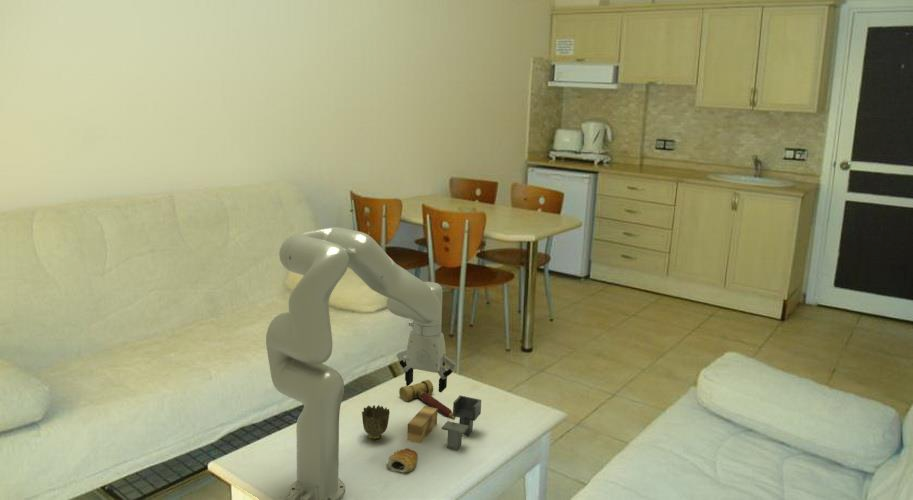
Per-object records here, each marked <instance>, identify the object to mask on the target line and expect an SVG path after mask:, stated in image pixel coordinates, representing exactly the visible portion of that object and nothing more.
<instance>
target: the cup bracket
mask: <svg viewBox="0 0 913 500" xmlns="http://www.w3.org/2000/svg"><path fill="white" fill-rule="evenodd" d="M452 405H453V406H452V407H453V408H452V413H453V416H454V417H455V418H459V421H458V423H459V424H463V425H468V429H467V430H466V431H465V432H464V434H462V436H467V437H470V435H472V433H473V431H474V422H475V421H476V420H477V418H478V417H479V416H480V415H481V413H482V399H478V398H476V397H475V398H473V397H470V396H466V395H458V397H457V398H456V399H455V400H454V401H453V404H452Z"/></svg>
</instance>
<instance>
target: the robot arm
mask: <svg viewBox="0 0 913 500" xmlns="http://www.w3.org/2000/svg"><path fill="white" fill-rule="evenodd" d="M278 255H279V260H280V263H281V265H282V266H283V267H284V268H285V269H286V270H288V271H289V272H292V273H295V274H298V275H301V276H302V278H301V279H300V280H299V281H298V282H297V284H296V285H295V287H294V288H293V290H292V291H291V293H290V296H289V299H288V312H283V313H279V314H277V316H275V317H274V318H273V319H272V320H271V321H270V323H269V325H268V328H267V330H266V334H265V345H266V351H267V352H266V353H267V358H268V365H269V371H270V372H269V373H270V377H271V381H272V384H273V387H274V388H275V389H276V391H278V393H280V394H282V395H284V396H286V397H288V398H290V399H293V400H295V401H297V402H299V403H301V404H302V405H303V409H302V411H301V413H300V414H299V416H298V418H297V421H296V480H295V481H294V482H293V483H292V484H291V485H290V488H289V495H288V496H287V498H286V500H341V498H343V496H344V495H345V492H346V485H345V482H344V481H343V480H342V479H340V478H339V465H340V464H339V459H340V458H339V457H340V455H339V454H340V453H339V452H340V449H339V448H340V446H339V445H340V413H341V412H340V411H341V404H342V402H343V401H342V400H343V397H344V391H345V380H344V378H343V376H342V375H341V373H340V372H339V371H338V370H337V369H334V368H333V367H331V366H329V365H327V364H324V363H326V362H327V361H328V360H329V359H330V357H331V355H332V353H333V334H332V333H333V332H332V326H331V325H332V324H331V316H330V298H331V296H332V293H333V291H334V289H336V287H337V285H338V283H339V282H340V280H341V279H342V278H343V276H344V275H345V274H346V272H347V271H348V268H349V269H350V270H351V271H352V272H353V273H354V274H355V275H357V277H358V278H360V279H361V281H362V282H363V283H364V284H366V286H367V287H368V288H370V289H371V290H372V291H374V292H375V293H377V294H380V295H381V296H384V297H385V298H387V299H386V306H387V310H388V311H389V312H390V313H391V314H393V315H395V316H397V317H401V318H405V319H409V321H408V326H409V327H411V328H412V330H411V331H409V335H408V340H407V345H406V347H407V348H406V349H405V350H401V351H399V352H398V353H397V354H396V357H397V360H398V361H399V365H400V366H401V368H402V370H403V372H404V381H405V386H411V385H412V383H413V381H414V370H418V371H422V372H423V371H424V372H429V373H433V374H434V373H437V375H439V377H440V378H438V393H443V392H444V390H445V389H446V388H447V385H448V384H447V383H448V381H447V380H448V377H449V376H450V375H451V374H452V373H454V370H455V369H456V367H457V365H458V364H457V362H455V361H454V360H453V359H451V358H450V357H448V356H447V355H446V354H447V353H446V342H445V336H444V333H443V332H442V317H443V314H442V313H443V287H442V285H440V284H439V283H437V282H435V281H434V282H433V281H423V280H421V279H420V278H418V277H417V276H416V275H414V274H412V273H410V272H409V271H408V270H407V269H405V268H403V267H402V266H401V265H399V264H397V263H396V262H395V261H394V260H393V259H392V258H391V257H390V256H389V255H388V254H387V252H386V251H385V250H384V249H383V248H382V247H381V246H380V244H378V242H377V241H376V240H374V238H373V237H372V236H370V235H369V234H368V233H366V232H363V231H359V230H354V229H349V228H345V227H337V226H332V227H325V228H320V229H314V230H309V231H303V232H299V233H295V234H292V235H290V236H289V237H287V238H286V239H285V240H284V241H283V243H282V244H281V245H280V248H279V253H278ZM446 365H447V366H448V367H449V368H448V369H447V368H446V367H445V366H446Z"/></svg>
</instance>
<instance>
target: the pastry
mask: <svg viewBox="0 0 913 500" xmlns="http://www.w3.org/2000/svg"><path fill="white" fill-rule="evenodd" d="M417 463H418V453H417V451H416V450H414V449H411V448H408V447H407V448H404V449H400V450H397V451H394V452H393V454H392V455H389V458H388V462H387V463H386V468H387V469H388V470H390V471H391V472H396V473H403V474H406V473H407V474H408V473H410V472H412V471H413V470H414V469H415V468H416V465H417Z"/></svg>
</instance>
